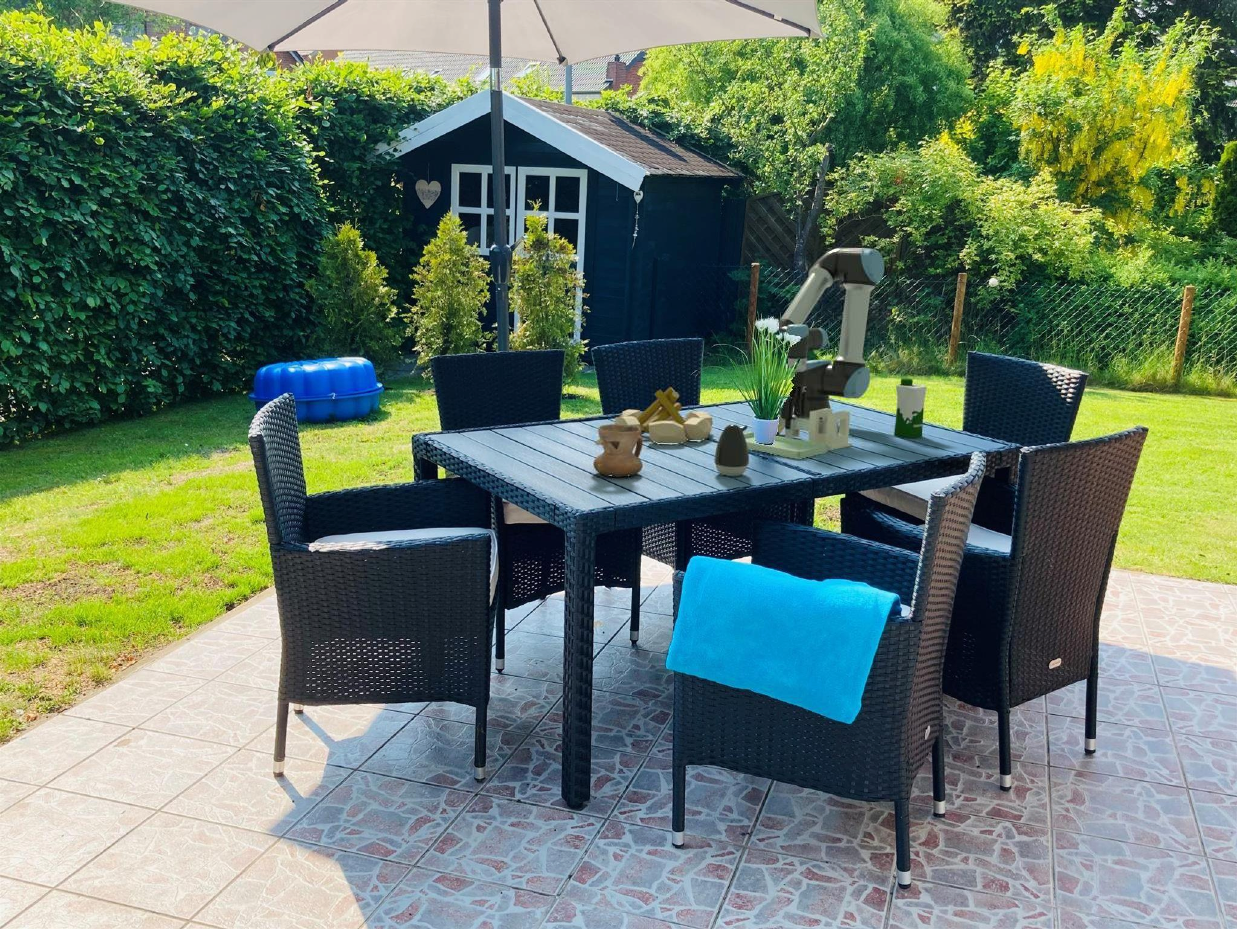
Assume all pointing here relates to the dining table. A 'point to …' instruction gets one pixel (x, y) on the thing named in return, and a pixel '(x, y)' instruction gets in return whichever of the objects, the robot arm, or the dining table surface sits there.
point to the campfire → (668, 420)
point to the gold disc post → (803, 424)
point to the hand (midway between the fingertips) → (792, 437)
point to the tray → (787, 447)
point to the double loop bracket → (830, 428)
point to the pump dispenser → (732, 451)
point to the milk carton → (909, 409)
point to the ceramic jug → (619, 450)
